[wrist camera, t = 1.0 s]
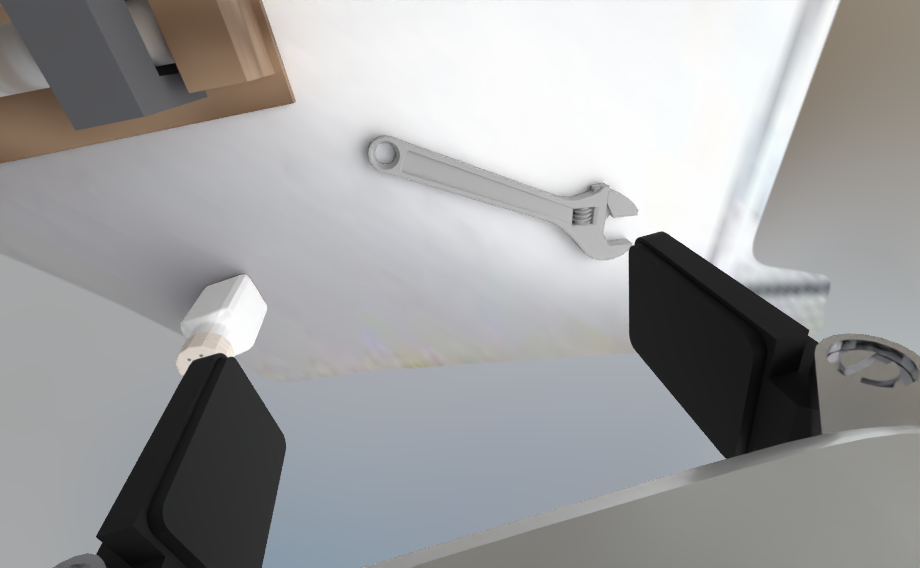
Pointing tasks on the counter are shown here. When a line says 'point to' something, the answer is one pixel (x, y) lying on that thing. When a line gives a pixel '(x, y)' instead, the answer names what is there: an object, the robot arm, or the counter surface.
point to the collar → (96, 60)
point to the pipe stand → (167, 41)
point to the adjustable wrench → (515, 195)
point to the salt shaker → (222, 321)
